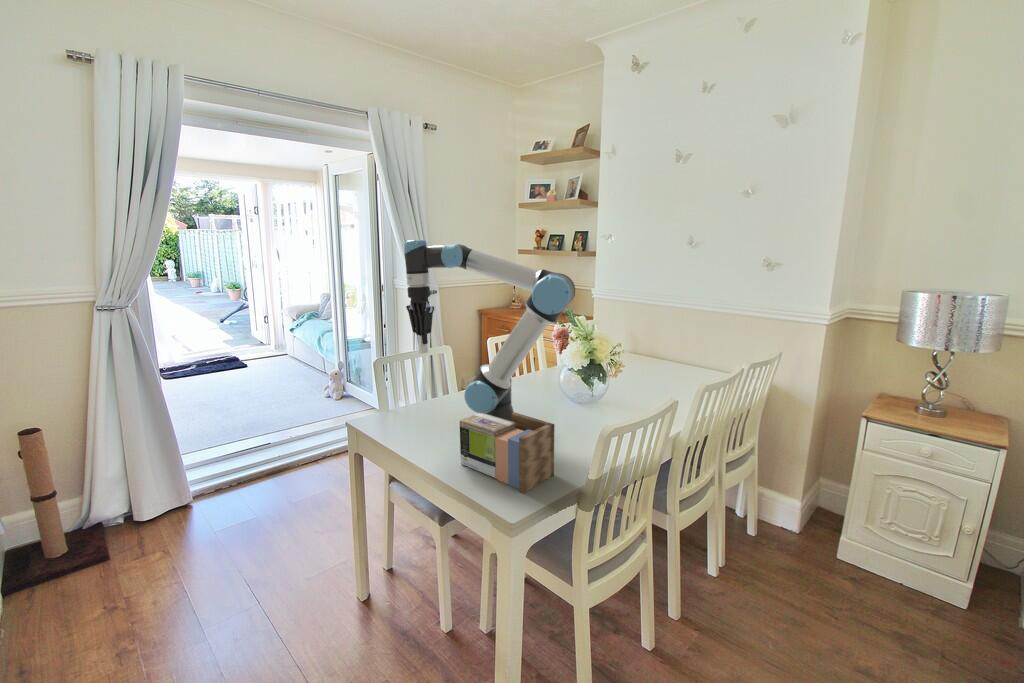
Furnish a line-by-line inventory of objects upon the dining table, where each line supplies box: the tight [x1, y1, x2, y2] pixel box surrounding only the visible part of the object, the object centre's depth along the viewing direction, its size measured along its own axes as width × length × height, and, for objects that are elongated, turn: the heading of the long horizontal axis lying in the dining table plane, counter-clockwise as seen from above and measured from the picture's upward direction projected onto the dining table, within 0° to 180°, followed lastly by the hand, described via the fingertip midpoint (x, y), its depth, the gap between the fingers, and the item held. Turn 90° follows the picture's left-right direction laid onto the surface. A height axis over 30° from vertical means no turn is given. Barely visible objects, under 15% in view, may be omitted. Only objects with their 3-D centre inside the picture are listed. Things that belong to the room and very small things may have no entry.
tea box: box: [459, 413, 516, 479], centre depth 145 cm, size 15×10×15 cm
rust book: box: [495, 428, 523, 485], centre depth 139 cm, size 9×5×13 cm, turn 140°
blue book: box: [507, 429, 532, 490], centre depth 136 cm, size 9×4×14 cm, turn 140°
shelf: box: [512, 412, 555, 494], centre depth 139 cm, size 14×15×16 cm
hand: (423, 352), depth 168 cm, fingers closed
